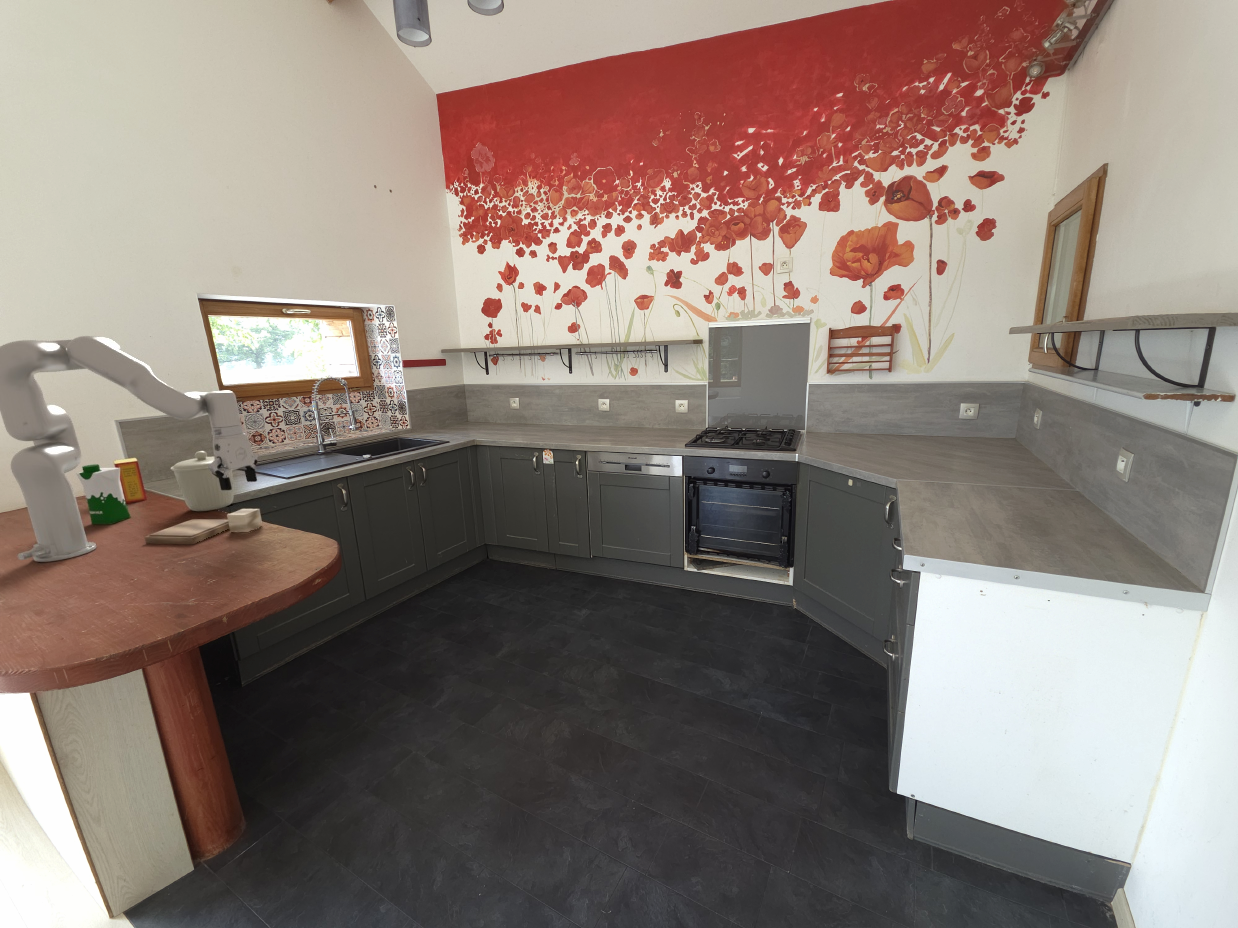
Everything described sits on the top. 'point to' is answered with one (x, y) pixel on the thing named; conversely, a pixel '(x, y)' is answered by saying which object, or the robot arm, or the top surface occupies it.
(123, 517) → the milk carton
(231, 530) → the cube
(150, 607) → the top surface
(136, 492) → the baking soda box
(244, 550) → the top surface
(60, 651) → the top surface
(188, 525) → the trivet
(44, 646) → the top surface
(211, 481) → the canister
